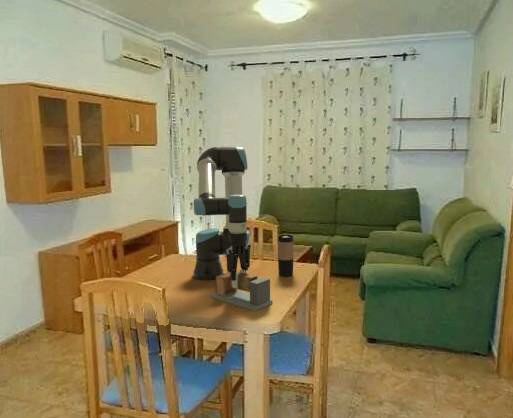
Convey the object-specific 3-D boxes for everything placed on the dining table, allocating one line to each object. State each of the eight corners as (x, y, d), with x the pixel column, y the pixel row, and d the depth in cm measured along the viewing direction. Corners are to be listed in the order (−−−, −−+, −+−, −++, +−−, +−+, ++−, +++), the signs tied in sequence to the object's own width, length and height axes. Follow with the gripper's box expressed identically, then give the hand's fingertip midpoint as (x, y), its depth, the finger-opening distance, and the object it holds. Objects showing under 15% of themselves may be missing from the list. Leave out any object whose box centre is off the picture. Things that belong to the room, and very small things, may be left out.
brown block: (230, 287, 190) (229, 273, 189) (236, 284, 193) (236, 271, 192) (251, 292, 182) (250, 278, 182) (257, 290, 185) (257, 276, 185)
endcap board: (211, 297, 194) (210, 273, 192) (229, 290, 202) (228, 267, 200) (255, 310, 178) (254, 284, 176) (272, 303, 186) (272, 278, 184)
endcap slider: (216, 293, 193) (215, 276, 192) (230, 288, 200) (229, 272, 199) (223, 295, 191) (222, 278, 190) (237, 290, 197) (236, 273, 196)
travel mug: (277, 273, 229) (277, 234, 226) (292, 272, 229) (292, 234, 226) (279, 277, 221) (279, 237, 218) (294, 276, 222) (294, 237, 219)
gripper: (230, 236, 178) (231, 293, 181) (258, 229, 190) (258, 283, 193) (216, 233, 182) (218, 289, 186) (245, 228, 195) (246, 280, 198)
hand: (239, 286), depth 189 cm, fingers closed on brown block, 4 cm apart
